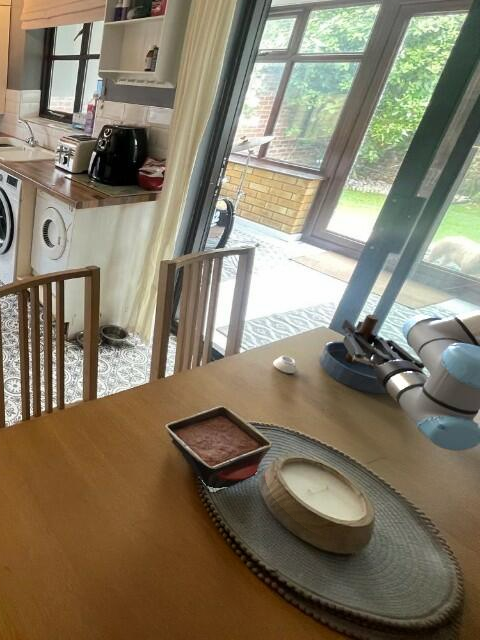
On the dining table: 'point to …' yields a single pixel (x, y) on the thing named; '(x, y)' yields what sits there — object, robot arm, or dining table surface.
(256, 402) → the dining table surface
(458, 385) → the robot arm
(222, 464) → the baking dish
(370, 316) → the stirring stick
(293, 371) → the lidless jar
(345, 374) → the bowl
